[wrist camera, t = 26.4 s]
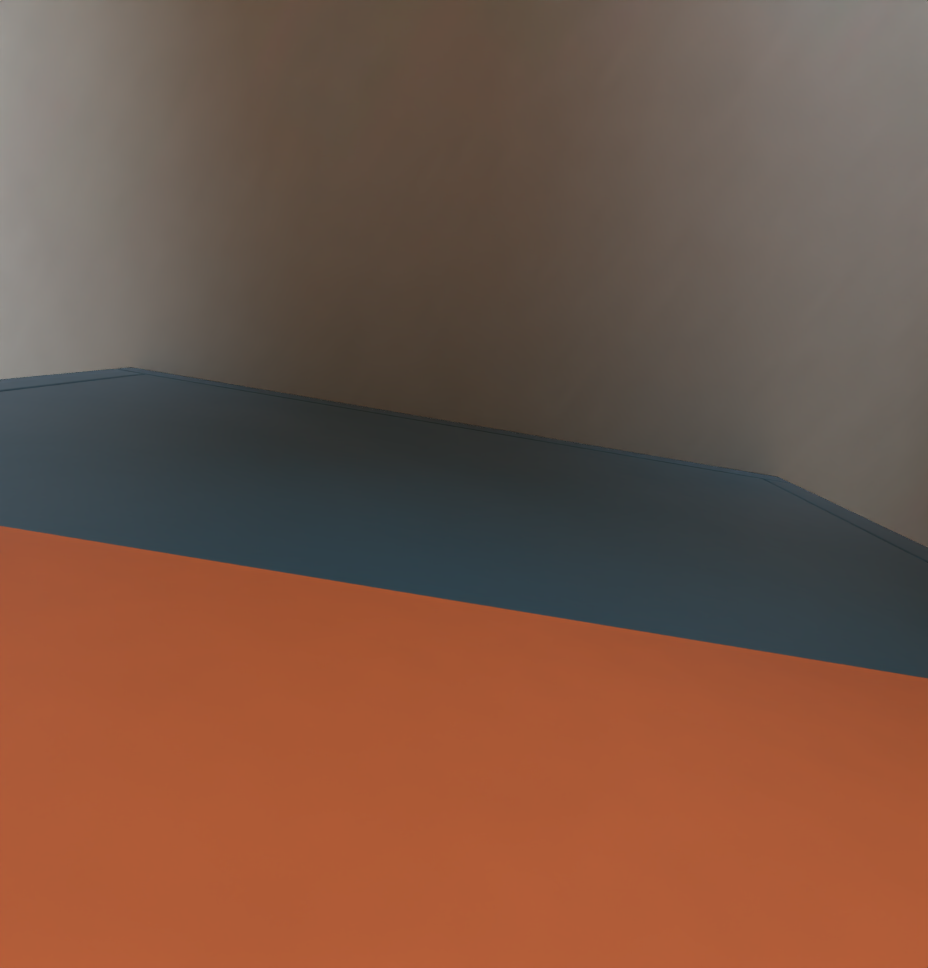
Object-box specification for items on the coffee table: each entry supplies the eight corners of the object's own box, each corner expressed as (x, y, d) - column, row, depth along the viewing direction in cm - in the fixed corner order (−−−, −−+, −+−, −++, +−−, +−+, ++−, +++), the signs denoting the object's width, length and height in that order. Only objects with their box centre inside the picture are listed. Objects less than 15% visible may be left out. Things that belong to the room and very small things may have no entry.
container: (651, 909, 20) (879, 1661, 9) (111, 824, 20) (-387, 1491, 8) (779, 476, 17) (1424, 781, 5) (129, 366, 17) (-664, 439, 5)
